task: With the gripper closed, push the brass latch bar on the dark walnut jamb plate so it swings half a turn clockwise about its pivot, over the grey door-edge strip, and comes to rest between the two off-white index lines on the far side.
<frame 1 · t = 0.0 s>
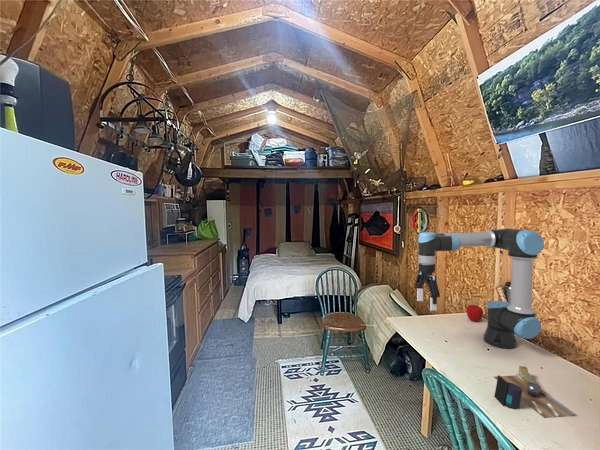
hand: (426, 305, 143), 28 cm above the table, fingers open, 13 cm apart
jamb plate: (530, 397, 115), on the table
latch bar: (528, 380, 119), point 4 cm above the table, hinge at 0.0°
apple: (474, 321, 190), on the table
speaker: (508, 406, 110), on the table
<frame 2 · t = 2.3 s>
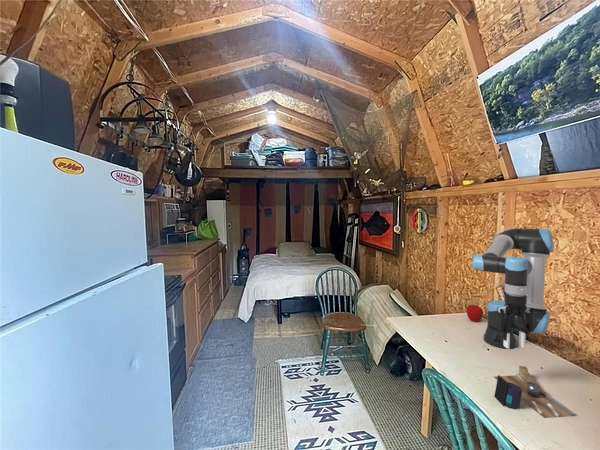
hand: (514, 347, 122), 17 cm above the table, fingers open, 6 cm apart
nothing on the table moved.
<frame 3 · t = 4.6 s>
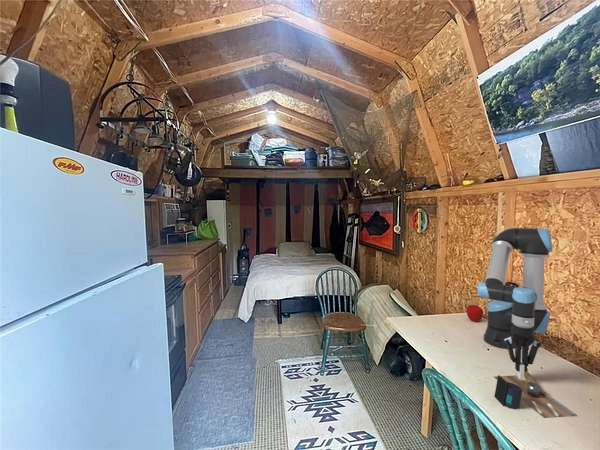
hand: (520, 378, 123), 3 cm above the table, fingers closed
latch bar: (528, 380, 119), point 4 cm above the table, hinge at 0.2°, touching gripper
everything else where it was.
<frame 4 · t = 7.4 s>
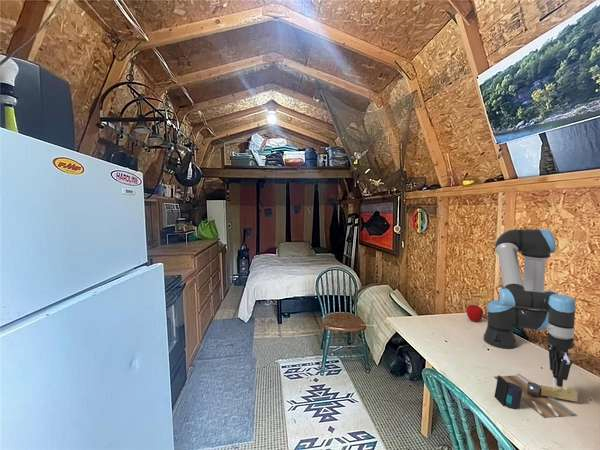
hand: (557, 392, 113), 3 cm above the table, fingers closed
latch bar: (550, 391, 112), point 4 cm above the table, hinge at 89.9°, touching gripper
everything else where it was.
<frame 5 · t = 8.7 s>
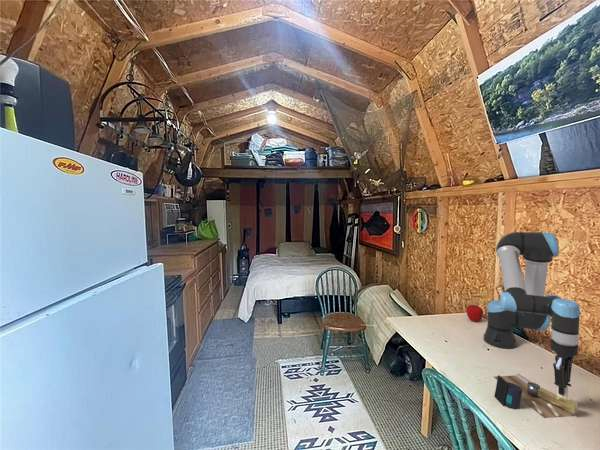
hand: (561, 401, 108), 3 cm above the table, fingers closed
latch bar: (550, 396, 109), point 4 cm above the table, hinge at 133.3°, touching gripper
everything else where it was.
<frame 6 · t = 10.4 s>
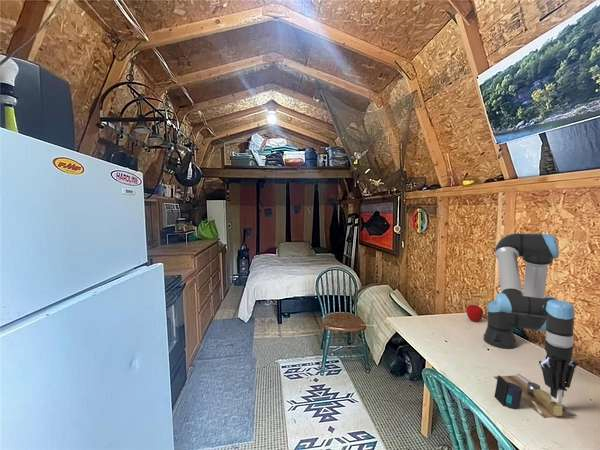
hand: (556, 404, 106), 3 cm above the table, fingers closed
latch bar: (543, 397, 109), point 4 cm above the table, hinge at 166.4°
everything else where it was.
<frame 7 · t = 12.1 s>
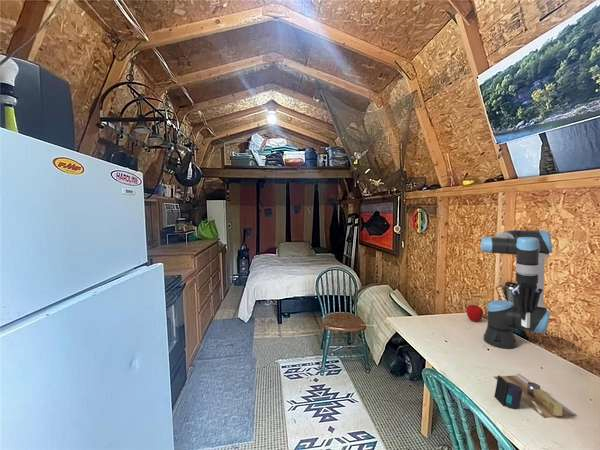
hand: (525, 326, 124), 25 cm above the table, fingers closed
nothing on the table moved.
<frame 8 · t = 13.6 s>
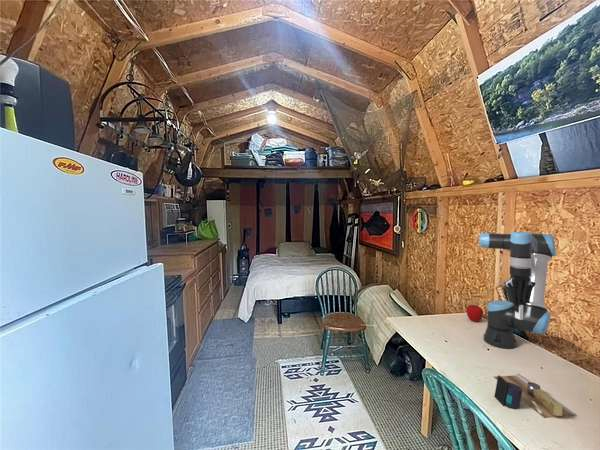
hand: (518, 318, 128), 26 cm above the table, fingers closed
nothing on the table moved.
at the end: latch bar at +166° (first picture: +0°) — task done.
